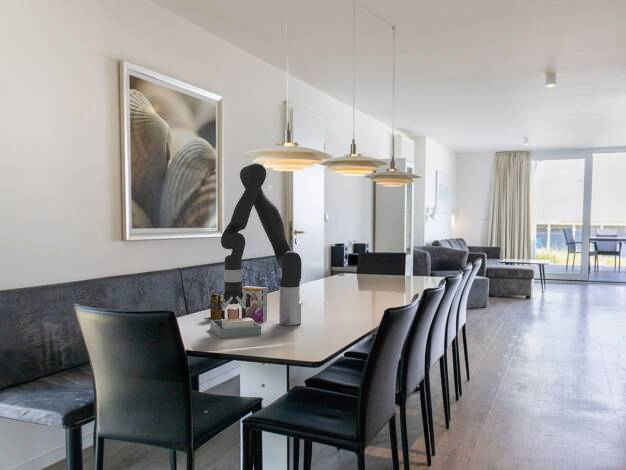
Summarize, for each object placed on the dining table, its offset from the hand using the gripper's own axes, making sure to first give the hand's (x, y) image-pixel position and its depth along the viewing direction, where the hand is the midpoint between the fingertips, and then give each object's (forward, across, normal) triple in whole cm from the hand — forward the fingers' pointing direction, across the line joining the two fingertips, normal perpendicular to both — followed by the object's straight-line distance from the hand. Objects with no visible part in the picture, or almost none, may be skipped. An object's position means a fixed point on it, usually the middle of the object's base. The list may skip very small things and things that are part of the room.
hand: (233, 318), depth 216 cm
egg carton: (+5, 0, -8) cm, 9 cm away
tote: (+6, 0, -3) cm, 7 cm away
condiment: (+6, -1, +31) cm, 32 cm away
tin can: (+5, 0, 0) cm, 5 cm away
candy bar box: (+6, +14, +16) cm, 22 cm away
